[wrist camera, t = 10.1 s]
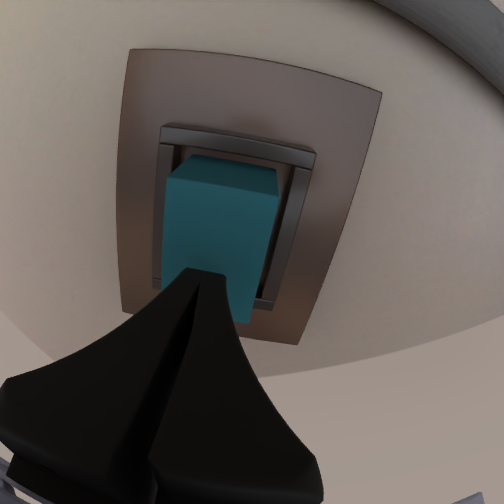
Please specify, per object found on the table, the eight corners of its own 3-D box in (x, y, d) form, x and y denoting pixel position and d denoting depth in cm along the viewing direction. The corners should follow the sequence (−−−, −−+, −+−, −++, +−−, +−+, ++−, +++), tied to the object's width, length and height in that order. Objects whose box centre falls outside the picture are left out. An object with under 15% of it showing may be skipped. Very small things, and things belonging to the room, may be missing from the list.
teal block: (252, 274, 17) (248, 324, 13) (181, 260, 16) (160, 307, 13) (276, 168, 14) (280, 197, 10) (192, 153, 13) (166, 176, 10)
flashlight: (222, -42, 10) (247, -109, 6) (559, 170, 13) (590, 134, 9) (185, -42, 7) (216, -131, 3) (584, 216, 10) (621, 178, 6)
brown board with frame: (296, 335, 20) (298, 359, 18) (127, 303, 20) (115, 323, 18) (376, 92, 12) (393, 93, 10) (137, 50, 12) (118, 46, 10)
